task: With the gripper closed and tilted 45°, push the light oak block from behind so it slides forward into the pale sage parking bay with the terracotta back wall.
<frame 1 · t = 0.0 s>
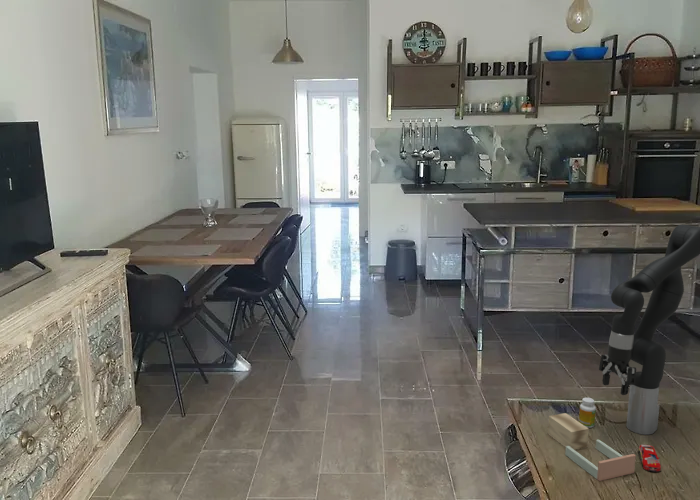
hand: (614, 389, 207), 17 cm above the table, tool pointing down, fingers open, 8 cm apart
race car: (648, 463, 194), on the table
supplement bottle: (586, 425, 218), on the table
parking bay: (597, 462, 193), on the table
oak block: (567, 440, 207), on the table
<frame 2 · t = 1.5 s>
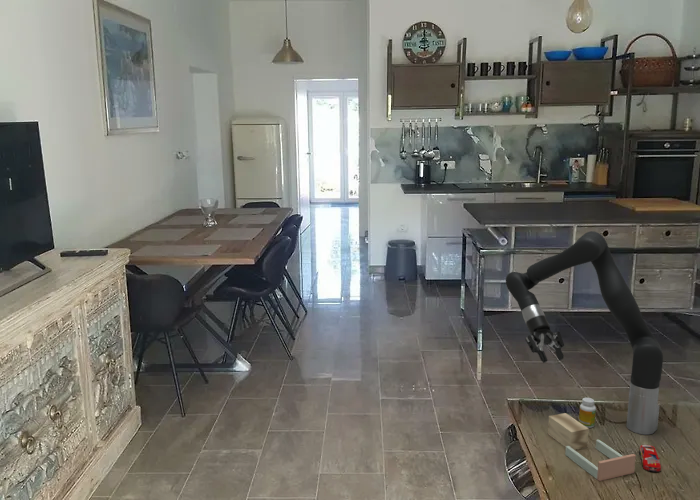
hand: (553, 360, 214), 24 cm above the table, tool tilted 45°, fingers open, 6 cm apart
nothing on the table moved.
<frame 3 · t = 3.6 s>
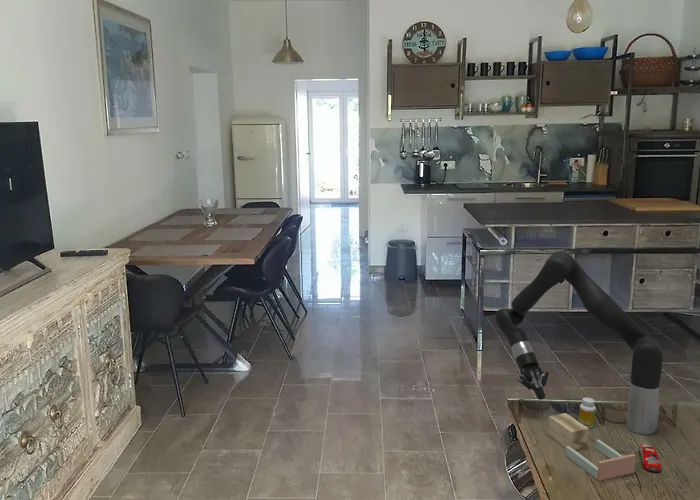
hand: (542, 398, 219), 9 cm above the table, tool tilted 45°, fingers closed
nothing on the table moved.
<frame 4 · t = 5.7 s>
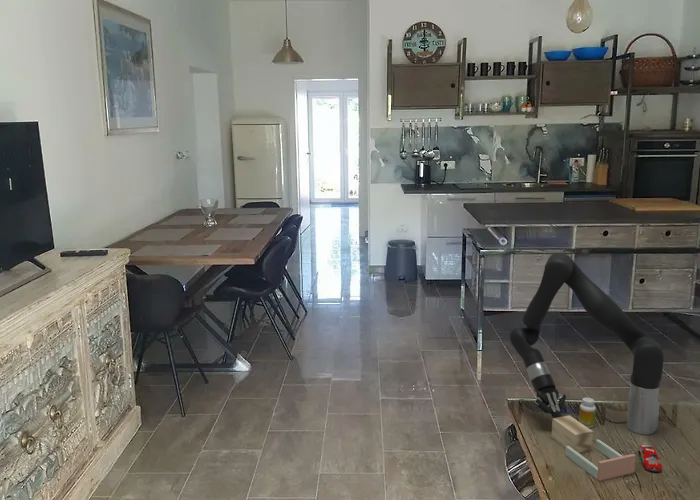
hand: (559, 423, 210), 4 cm above the table, tool tilted 45°, fingers closed
oak block: (571, 443, 205), on the table, touching gripper
everything else where it was.
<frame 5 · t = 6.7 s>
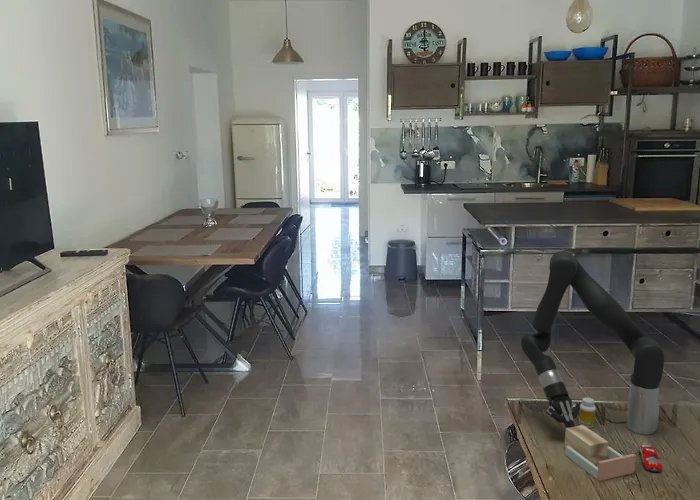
hand: (573, 433, 203), 4 cm above the table, tool tilted 45°, fingers closed
oak block: (585, 454, 198), on the table, touching gripper
everything else where it was.
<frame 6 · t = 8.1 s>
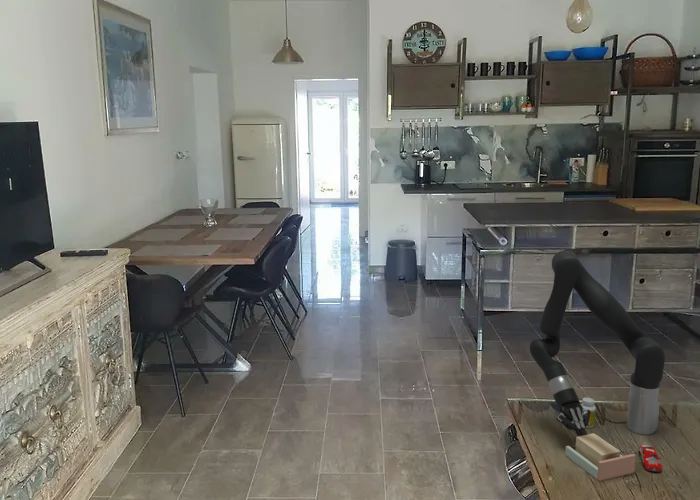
hand: (584, 440, 198), 4 cm above the table, tool tilted 45°, fingers closed
oak block: (596, 463, 193), on the table, touching gripper
everything else where it was.
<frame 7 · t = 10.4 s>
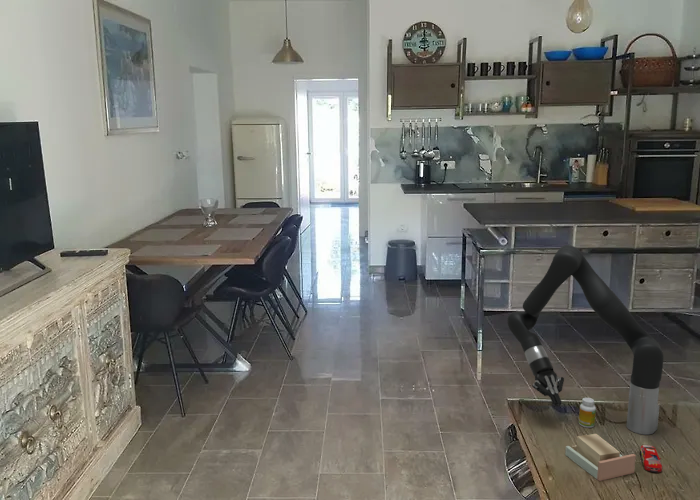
hand: (558, 405, 212), 10 cm above the table, tool tilted 45°, fingers closed
oak block: (596, 463, 193), on the table
everything else where it was.
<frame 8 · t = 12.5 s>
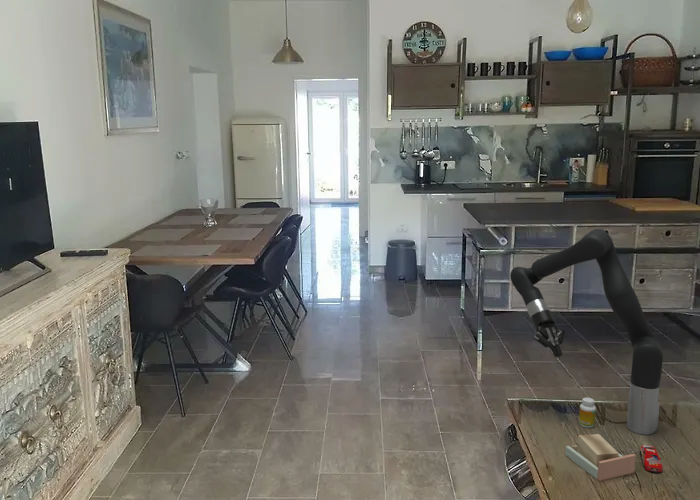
hand: (559, 356, 214), 26 cm above the table, tool tilted 45°, fingers closed
nothing on the table moved.
at the end: oak block 0.8 cm off-centre on the parking bay, point 0.0 cm above the parking bay's base; oak block tilted 0°; supplement bottle moved 0.2 cm from its start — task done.
